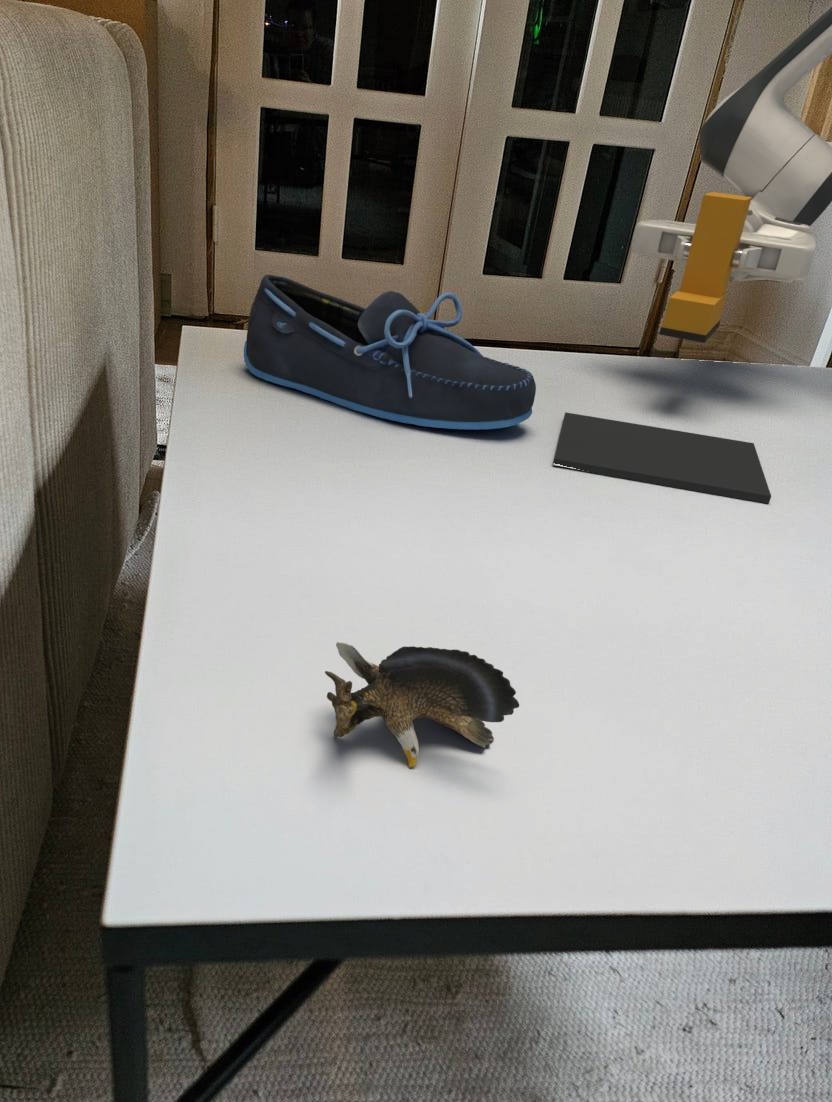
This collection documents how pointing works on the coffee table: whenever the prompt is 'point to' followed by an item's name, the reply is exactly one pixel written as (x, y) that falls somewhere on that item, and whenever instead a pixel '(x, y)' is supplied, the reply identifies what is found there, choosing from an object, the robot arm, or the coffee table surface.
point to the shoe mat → (662, 457)
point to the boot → (707, 268)
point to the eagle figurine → (423, 694)
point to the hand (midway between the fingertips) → (711, 255)
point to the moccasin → (381, 359)
